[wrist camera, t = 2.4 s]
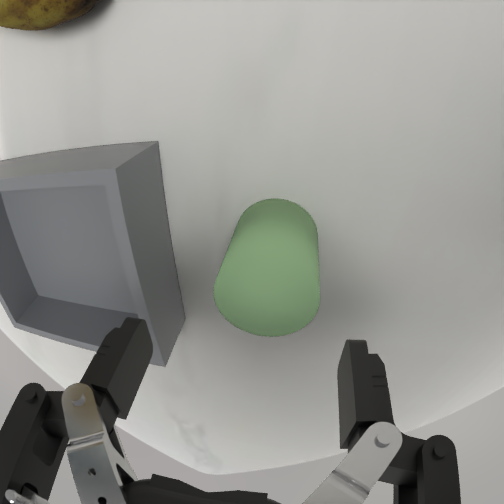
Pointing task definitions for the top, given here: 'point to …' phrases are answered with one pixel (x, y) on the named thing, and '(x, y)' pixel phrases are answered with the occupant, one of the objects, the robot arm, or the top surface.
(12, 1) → the potato
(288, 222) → the cucumber chunk
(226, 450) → the top surface
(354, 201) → the top surface
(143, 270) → the bin
